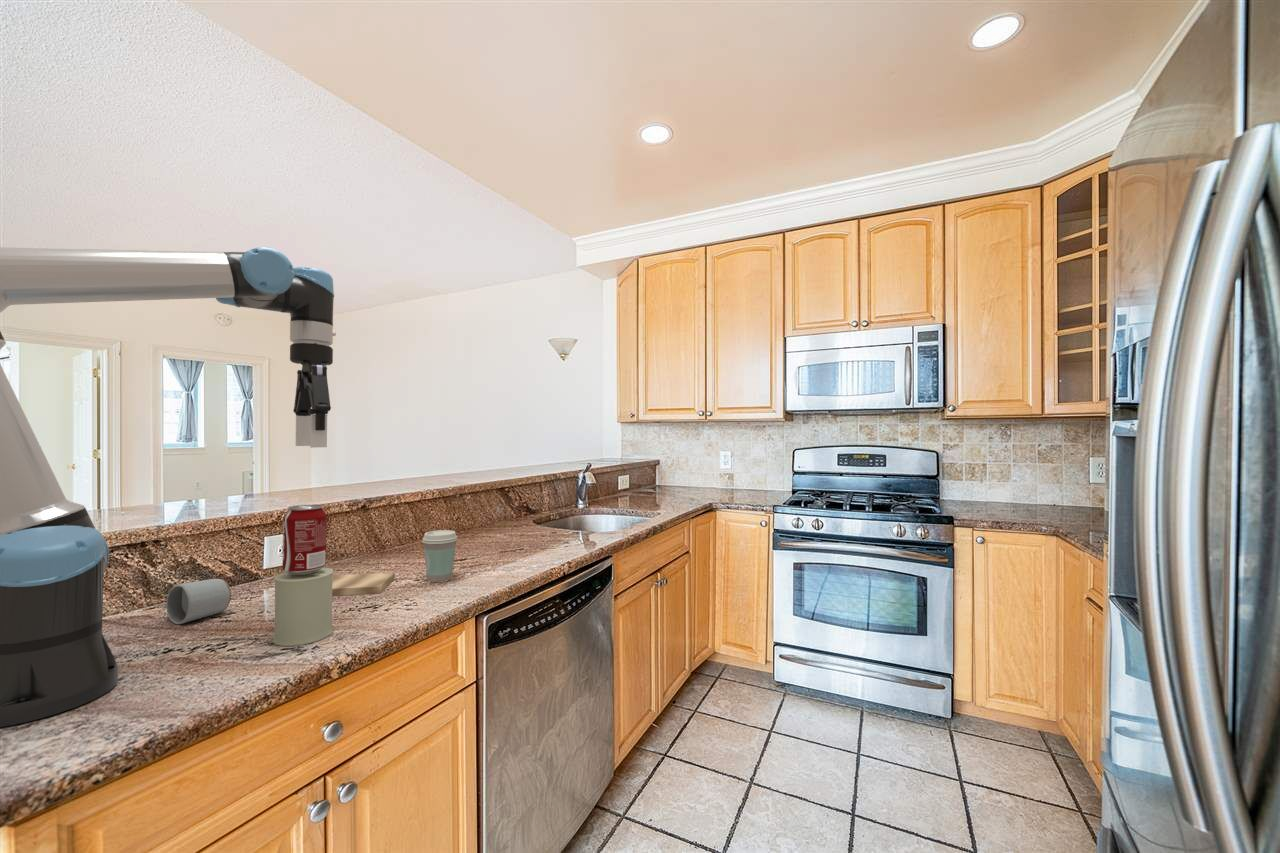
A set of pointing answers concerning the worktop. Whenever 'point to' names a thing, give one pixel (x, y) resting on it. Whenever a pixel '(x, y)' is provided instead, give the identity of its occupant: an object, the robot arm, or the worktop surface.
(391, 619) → the worktop surface
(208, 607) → the grey hollow cylinder
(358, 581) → the cutting board
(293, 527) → the soda can
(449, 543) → the coffee cup
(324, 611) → the can
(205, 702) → the worktop surface
